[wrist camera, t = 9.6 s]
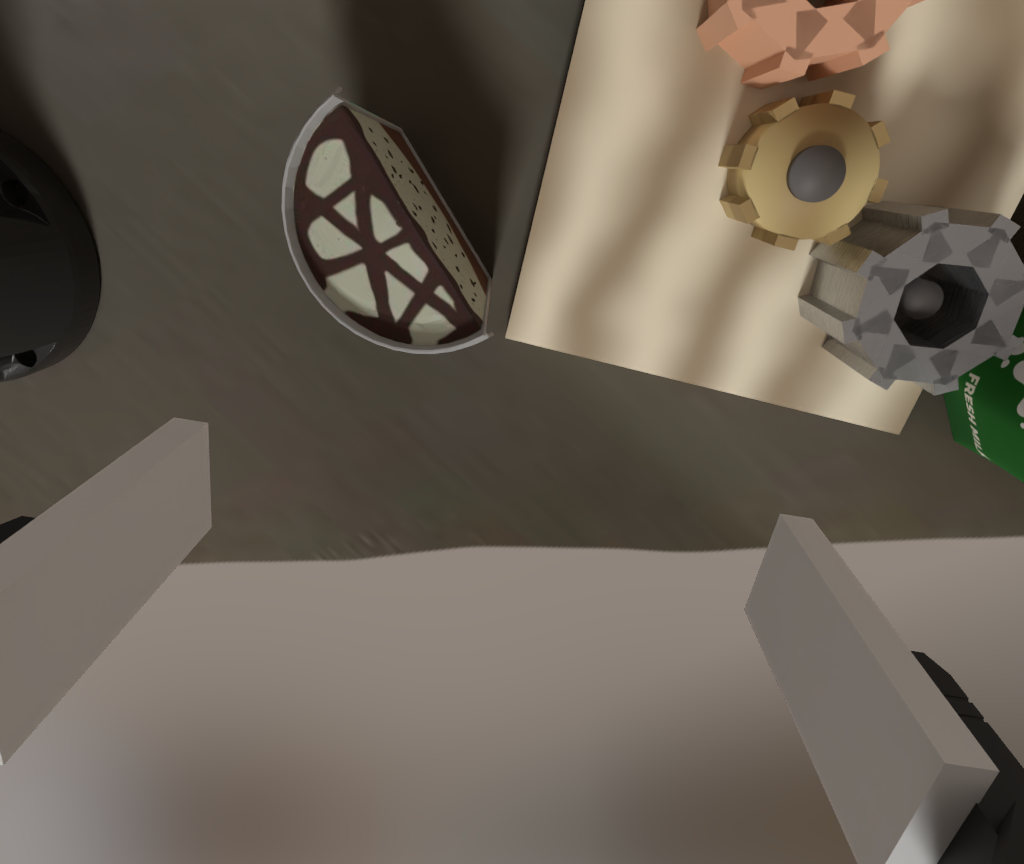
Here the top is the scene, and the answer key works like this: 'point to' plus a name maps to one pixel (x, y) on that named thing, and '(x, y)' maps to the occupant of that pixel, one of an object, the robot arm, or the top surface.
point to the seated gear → (897, 261)
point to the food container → (380, 235)
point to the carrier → (755, 193)
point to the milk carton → (992, 409)
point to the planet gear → (799, 36)
